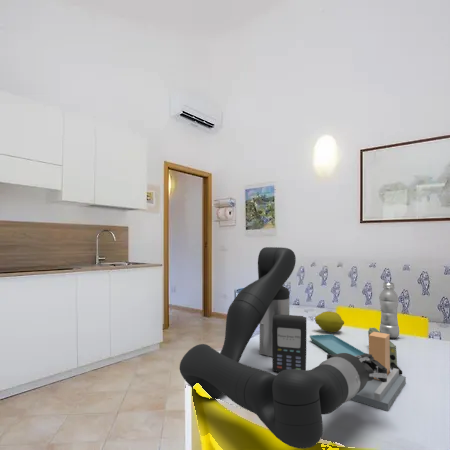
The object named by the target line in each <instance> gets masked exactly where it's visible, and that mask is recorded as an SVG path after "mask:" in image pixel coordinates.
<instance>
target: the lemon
mask: <svg viewBox="0 0 450 450" xmlns="http://www.w3.org/2000/svg"><path fill="white" fill-rule="evenodd" d="M314 319H315V324H317V326H319V328H320V329H321V330H323V331H325V332H326V333H327V332H328V333H331V334H333V333H336V332H337V333H338V332H339V331H341V329H342V327H343V326H344V324H345V321H344V320H343V318H342V316H341V315H340V314H339V313H338V312H335V311H332V310H331V311H323V312H321V313H320V314H317V315H316V316H315V317H314Z"/></svg>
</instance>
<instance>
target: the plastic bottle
mask: <svg viewBox="0 0 450 450" xmlns="http://www.w3.org/2000/svg"><path fill="white" fill-rule="evenodd" d="M382 285H383V286H382V288H383V289H382V291H380V293H379V295H378V297H379V298H378V299H379V305H380V312H381V314H380V324H379V332H380V333H385V334H390V339H396V338H398V337H399V336H400V326H399V321H398V306H399V299H400V298H399V296H398V294H397V292H396V291H395V289H396V287H395V283H394V282H383V284H382Z"/></svg>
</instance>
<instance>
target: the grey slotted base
mask: <svg viewBox="0 0 450 450" xmlns="http://www.w3.org/2000/svg"><path fill="white" fill-rule="evenodd" d="M406 378H407V377H406V376H402V375H399V369H395V368H392V370H390V373H389V375H388V376H387V382H382V381H380V380H377V379H373V380H372V381H367V383H366V385H365V387H364V388H363V389H362V390H361V391H360V392H359V393H357V394H356V395H355V396H354V397H353V398H352V399H350V400H351V401H354V402H356V403H357V402H358V403H360V404H363V405H367V406H371V407H373V408H377V409H380V410H383V411H386V412H388V411H389V410H390V408H391V407H392V406H393V404H394V402H395V401H396V399H397V397H398V396H399V394H400V392H401V391H402V389H403V388H404V386H405V385H406V384H407V383H406V382H407V381H406V380H407V379H406ZM350 400H349V401H350Z"/></svg>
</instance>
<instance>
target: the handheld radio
mask: <svg viewBox="0 0 450 450" xmlns="http://www.w3.org/2000/svg"><path fill="white" fill-rule="evenodd" d="M367 332H368V333H367V334H368V337H369V335H370V334H371V333H372V332H379V333H380V330H379V329H377V327H369V328H368V331H367ZM393 368H395V369H399V375H400V376H402V374H403V370H401V368H400V367H399V366H398V356H397V345H395V344H394V343H393V342H392V341H391V340H390V369H393Z"/></svg>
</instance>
